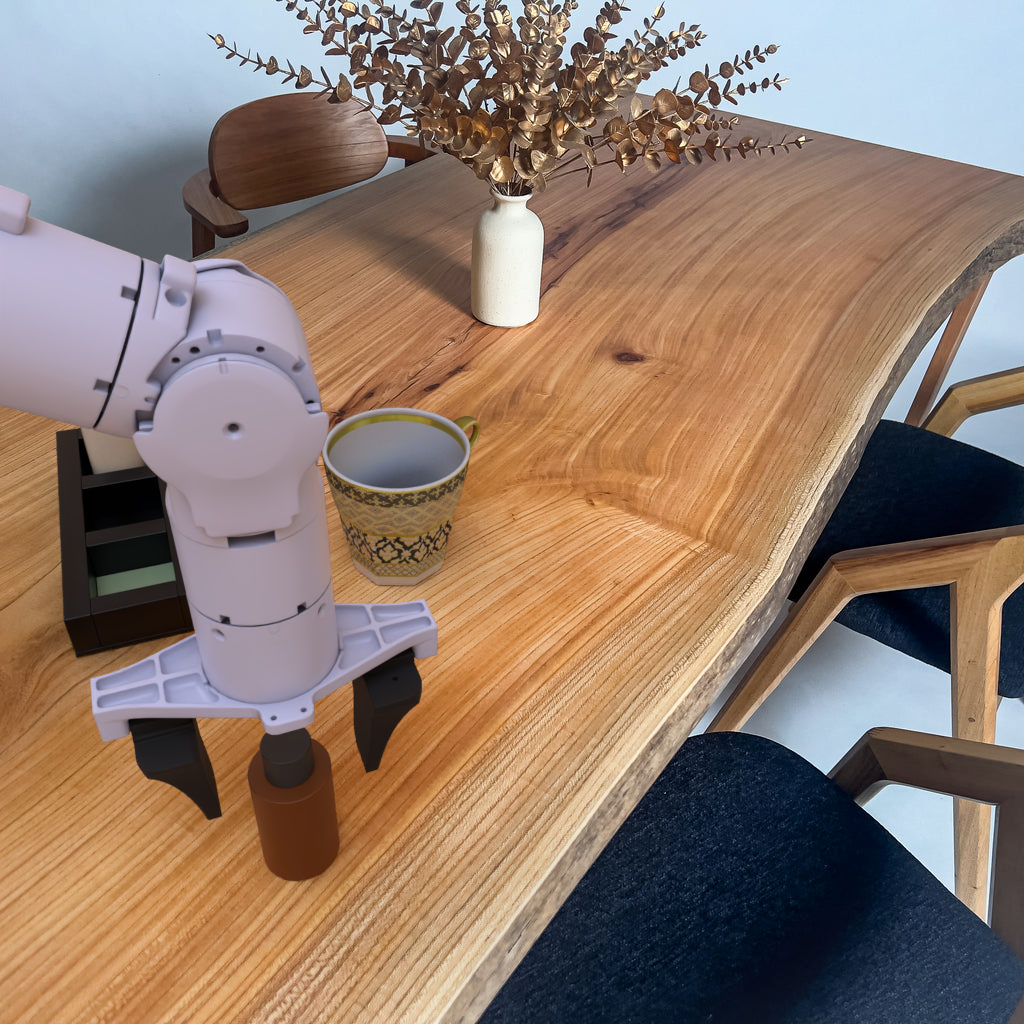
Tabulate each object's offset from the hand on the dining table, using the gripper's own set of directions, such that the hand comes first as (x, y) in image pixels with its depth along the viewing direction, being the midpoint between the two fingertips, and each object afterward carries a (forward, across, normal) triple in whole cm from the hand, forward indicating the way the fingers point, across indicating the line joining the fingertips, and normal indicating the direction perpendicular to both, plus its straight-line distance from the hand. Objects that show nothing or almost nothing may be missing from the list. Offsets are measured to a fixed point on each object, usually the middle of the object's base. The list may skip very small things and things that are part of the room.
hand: (291, 778), depth 45 cm
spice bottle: (+6, 0, 0) cm, 6 cm away
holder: (+6, -6, +29) cm, 30 cm away
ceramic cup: (+6, +13, +21) cm, 26 cm away
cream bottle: (+6, -6, +36) cm, 37 cm away
